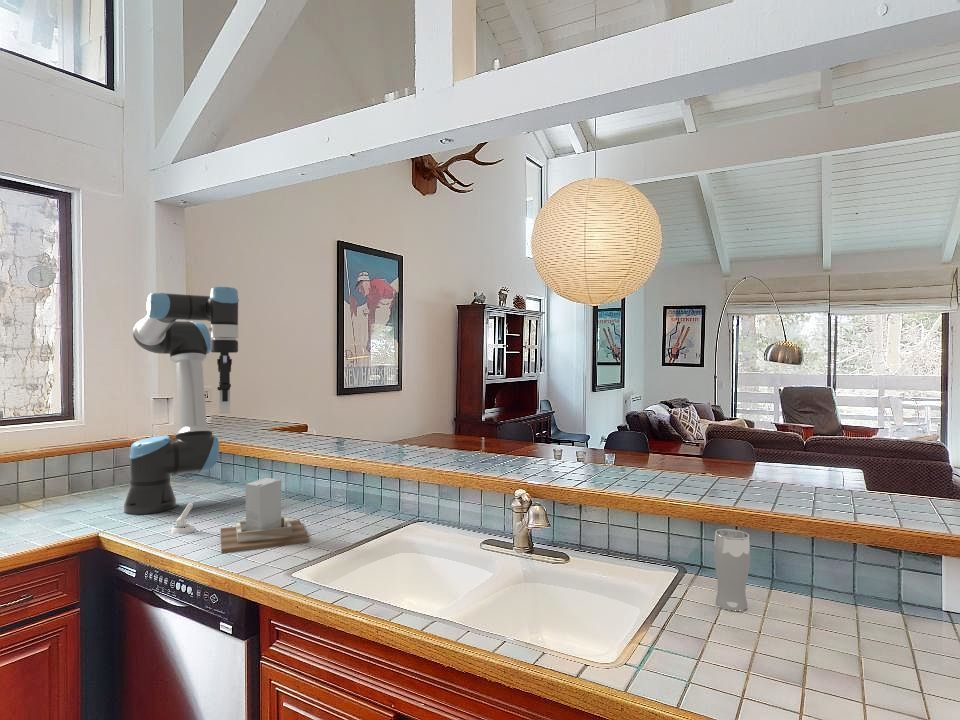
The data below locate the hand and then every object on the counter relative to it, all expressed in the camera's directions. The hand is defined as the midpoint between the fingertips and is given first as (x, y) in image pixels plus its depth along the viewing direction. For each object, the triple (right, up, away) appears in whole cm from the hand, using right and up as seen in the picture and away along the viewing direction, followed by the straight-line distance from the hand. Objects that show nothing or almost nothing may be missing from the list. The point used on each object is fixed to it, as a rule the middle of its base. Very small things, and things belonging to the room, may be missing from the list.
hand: (224, 410), depth 176 cm
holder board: (+15, -35, -9) cm, 39 cm away
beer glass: (+128, -36, -54) cm, 144 cm away
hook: (-11, -35, -3) cm, 37 cm away
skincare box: (+15, -34, -9) cm, 38 cm away
